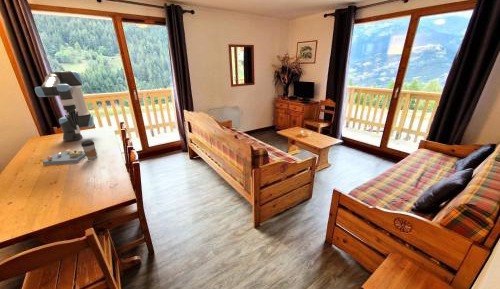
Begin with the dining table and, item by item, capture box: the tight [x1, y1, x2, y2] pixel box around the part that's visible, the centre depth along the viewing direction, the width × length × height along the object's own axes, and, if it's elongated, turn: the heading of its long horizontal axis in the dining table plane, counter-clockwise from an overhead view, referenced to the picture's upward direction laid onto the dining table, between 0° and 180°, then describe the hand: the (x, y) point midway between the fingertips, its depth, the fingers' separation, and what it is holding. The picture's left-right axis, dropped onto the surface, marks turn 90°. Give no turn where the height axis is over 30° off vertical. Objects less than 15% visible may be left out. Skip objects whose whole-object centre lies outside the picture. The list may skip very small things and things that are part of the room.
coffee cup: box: [80, 139, 98, 162], centre depth 166 cm, size 8×8×15 cm
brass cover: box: [69, 149, 83, 157], centre depth 169 cm, size 6×6×4 cm
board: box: [42, 150, 87, 166], centre depth 169 cm, size 17×24×2 cm
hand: (78, 132), depth 173 cm, fingers closed
